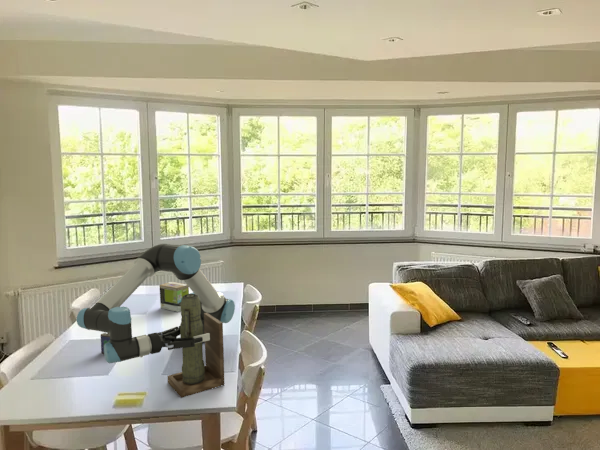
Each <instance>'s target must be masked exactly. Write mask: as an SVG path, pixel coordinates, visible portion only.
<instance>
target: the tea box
mask: <svg viewBox="0 0 600 450" xmlns="http://www.w3.org/2000/svg"><path fill="white" fill-rule="evenodd" d="M189 290H190V288H189V286H188V285H187V284H186V283H183V282H175V281H169V282H165V283H162V284H159V303H160V306H159V307H160V309H163V310H168V311H172V312H177V313H180V312H181V300H182V297H183V296H184V295H186V294H190V292H189Z"/></svg>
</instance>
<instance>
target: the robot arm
mask: <svg viewBox="0 0 600 450" xmlns="http://www.w3.org/2000/svg"><path fill="white" fill-rule="evenodd" d="M201 257H202V256H201V253H200V251H199V249H197V248H196V247H194V246H191V245H187V244H170V243H159V244H155V245H154V246H152V247H150V248H148V249H147V250H145V251H144V252H143V253H141V254H140V255H139V256H138V257H137V258H136V259H135V260H134V262H133V265H132V266H131V267H130V268H129V269H128V270H127V271H126V272H125V273H124V274H123V275H122V276H121V277H120V278H119V279H118V280H117V281H116V282H115V283H114V285H112V286H111V287H110V288H109V289H108V290H107V291H106V292H105V293H104V294H103V296H102V297H100V298H99V300H97V301H96V302H95V303H94V304H93V305H92V306H91V307H84V308H82V309H80V310H79V311H78V313H77V315H76V319H75V320H76V324H77V326H78V327H80V328H82V329H85V330H89V331H97V332H102V333H110V342H108V343H106V344H105V345H104V354H103V355H104V359H105V362H106V363H107V364H115V363H121V362H123V361H124V362H125V361H128V360H132V359H136V358H143V357H145V356H149V355H150V354H151V355H154V354H157V353H160V352H162V349H163V348H167V350H168V351H172V350H175V349H177V350H178V349H182V348H187V347H194V346H195V344H196V343H200V342H203V343H205V341H209V340H210V333H207V334H205V332H204V313H208V314H210V315H212V316H213V317H215V318H216V319H218V320H219V321H221V322H222V323H223V324H227V323H229V322H230V321H232V319H233V318H234V317H233V316H234V314H235V309H236V308H235V307H236V305H235V304H236V303H235V301H234V300H233V299H232V298H226V297H225V296H224V294H223V293H222V292H220V291H217V290H216V289H215V287H214V286H213V285H212V283H211V282H210V280H208V278H207V277H206V275H205V273H204V272H203V271H202V270H201V265H202V259H201ZM157 272H169V273H172V274H173V275H174V276H175V277H176V278H177V279H178V280H179V281H183V282H184V284H187V285H188V286H189V290H190V291H192V292H189V294H196V295H198V297H199V300H200V306H201V314H200V317H201V321H202V324H203V334H202V335H198V336H193V338H181V337H179V336H180V325H179V326H175V327H171V328H170V329H166V330H164V331H159V332H152V333H147V334H143V335H137V336H133V333H132V332H133V331H132V328H133V327H132V316H131V309H130V308H129V307H127V306H122V305H123V304H124V303H125V302H126V301H127V300H128V299H129V298H130V297H131V296H132V295H133V293H135V291H136V290H137V289H138V288H139V287H140V286H141V285H142V284H143V282H145V280H147V278H149V277H153V276H154V275H155V274H156V273H157Z"/></svg>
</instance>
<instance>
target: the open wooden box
mask: <svg viewBox="0 0 600 450" xmlns="http://www.w3.org/2000/svg"><path fill="white" fill-rule="evenodd" d="M223 324H224V323H222V322H221V321H219V320H218V319H216V318H215V317H213V316H212V315H210V314H208V313H204V332H205V334H207V333H210V340H209V341H205V342H204V353H205V354H204V355H205V357H204V358H205V373H204V377H205V379H204V380H203V381H202V382H200V383H197V384H186V383H184V382H183V376H182V371H181V372H177V373H172V374H169V375H167V384H168V385H169V386H170V387H171V389H172V390H173V391H174V392H175V393H176V395H178V396H179V398H180V399H182V398H185V397H189V396H194V395H197V394H199V393H204V392H206V391H210V390H212V388H213V389H216V388H215V387H217V388H219V387H218V386H220V387H222V386H221V385H223V386H225V385H224V384H225V383H226V382H225V357H224V353H225V352H224V326H223Z"/></svg>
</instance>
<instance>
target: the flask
mask: <svg viewBox="0 0 600 450" xmlns="http://www.w3.org/2000/svg"><path fill="white" fill-rule="evenodd" d="M108 342H110V333H106V332H102V333H101V334H100V347H101V348H100V349H101V351H100V353H101V354H103V355H104V345H105V344H106V343H108Z"/></svg>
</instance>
